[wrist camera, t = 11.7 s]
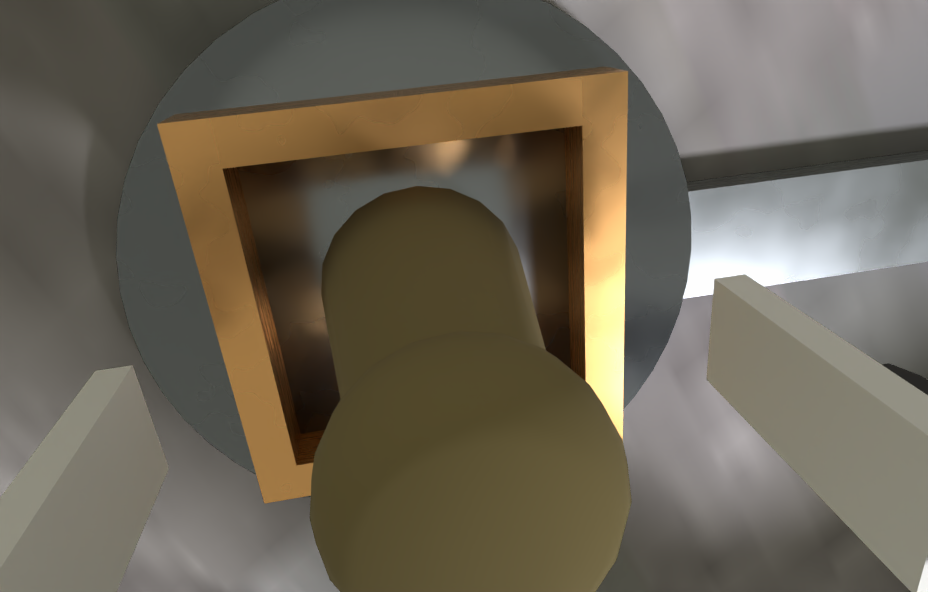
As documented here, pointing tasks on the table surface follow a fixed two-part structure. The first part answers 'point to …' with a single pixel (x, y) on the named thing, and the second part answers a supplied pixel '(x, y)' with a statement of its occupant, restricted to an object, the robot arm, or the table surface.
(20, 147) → the table surface
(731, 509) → the table surface
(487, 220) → the cork
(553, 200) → the round pan with handle
